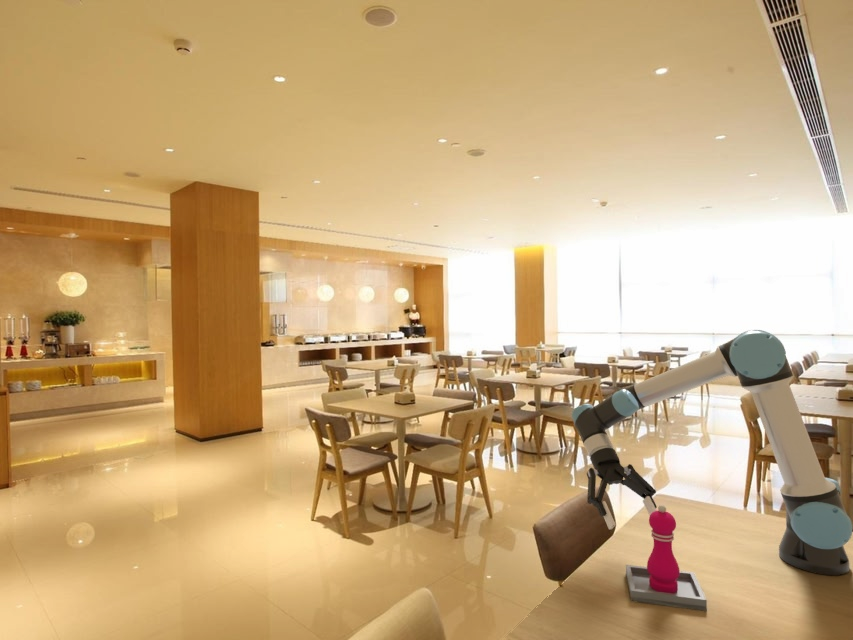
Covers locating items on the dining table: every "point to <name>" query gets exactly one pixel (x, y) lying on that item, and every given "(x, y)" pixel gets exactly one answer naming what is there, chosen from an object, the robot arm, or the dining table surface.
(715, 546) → the dining table surface
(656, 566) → the pepper mill
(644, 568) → the tray
